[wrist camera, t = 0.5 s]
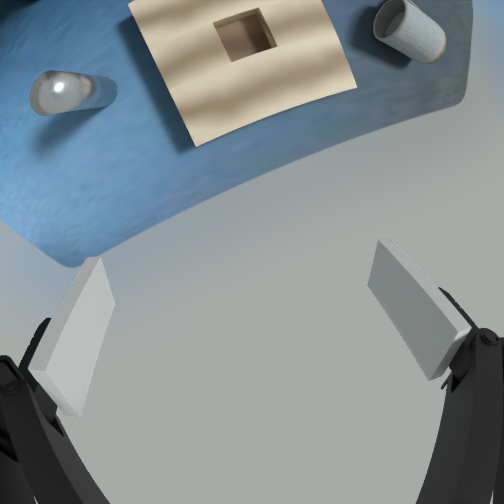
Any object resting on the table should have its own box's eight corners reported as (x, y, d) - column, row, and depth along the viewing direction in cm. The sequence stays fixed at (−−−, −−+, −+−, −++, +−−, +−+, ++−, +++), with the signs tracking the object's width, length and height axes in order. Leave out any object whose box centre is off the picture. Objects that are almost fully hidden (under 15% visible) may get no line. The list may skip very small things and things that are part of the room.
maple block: (136, 12, 24) (127, 4, 21) (285, -38, 23) (292, -50, 19) (198, 142, 34) (196, 146, 31) (343, 87, 32) (357, 87, 29)
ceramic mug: (414, 68, 31) (448, 67, 24) (368, 43, 29) (399, 34, 22) (424, 14, 26) (456, 7, 20) (379, -12, 25) (409, -27, 18)
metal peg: (85, 88, 28) (24, 89, 16) (110, 71, 28) (57, 61, 16) (96, 112, 30) (39, 124, 18) (122, 96, 30) (72, 97, 18)
